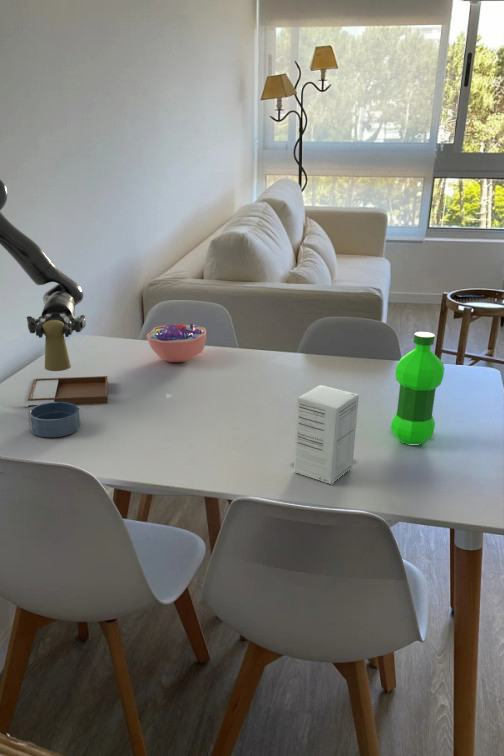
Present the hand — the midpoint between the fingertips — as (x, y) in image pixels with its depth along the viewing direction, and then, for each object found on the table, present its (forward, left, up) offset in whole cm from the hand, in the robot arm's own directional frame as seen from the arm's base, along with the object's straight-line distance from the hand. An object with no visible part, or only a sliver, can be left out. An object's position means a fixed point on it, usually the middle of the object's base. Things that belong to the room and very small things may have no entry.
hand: (53, 333), depth 161 cm
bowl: (-1, -7, -21) cm, 22 cm away
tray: (+1, +15, -21) cm, 26 cm away
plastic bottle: (+79, -24, -21) cm, 85 cm away
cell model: (+31, +41, -21) cm, 55 cm away
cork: (0, +3, -9) cm, 10 cm away
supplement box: (+55, -36, -21) cm, 69 cm away
